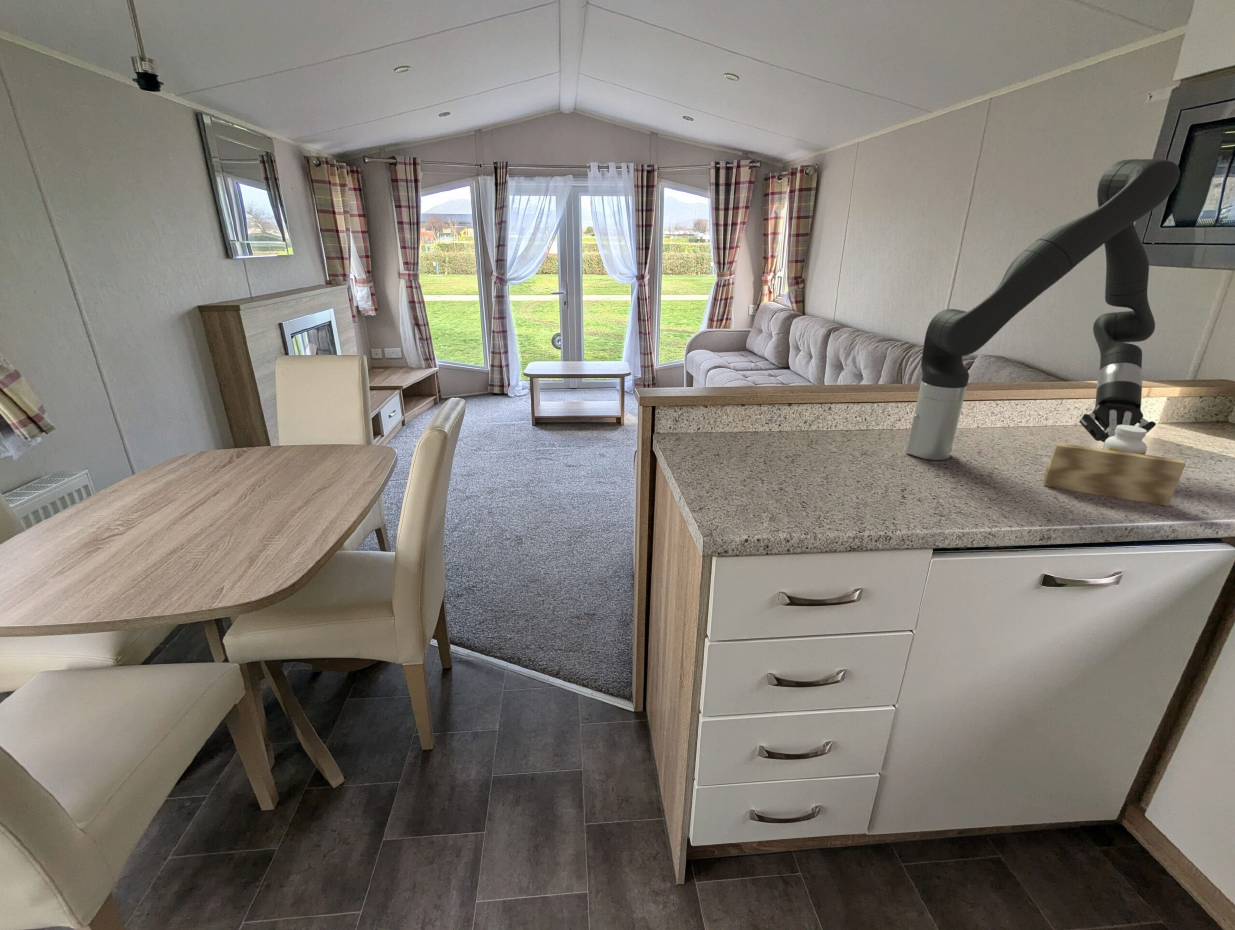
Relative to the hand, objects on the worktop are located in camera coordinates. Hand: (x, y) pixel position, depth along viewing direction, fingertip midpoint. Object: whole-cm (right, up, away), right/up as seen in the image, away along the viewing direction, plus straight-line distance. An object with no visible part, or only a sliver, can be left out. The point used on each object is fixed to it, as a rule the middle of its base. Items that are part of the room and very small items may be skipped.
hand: (1113, 458), depth 120 cm
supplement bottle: (-2, -6, -1) cm, 6 cm away
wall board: (-5, -6, -3) cm, 9 cm away
